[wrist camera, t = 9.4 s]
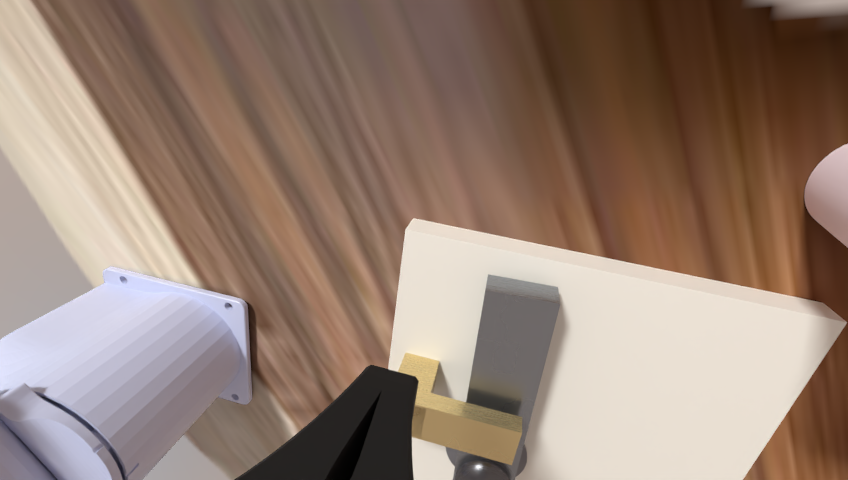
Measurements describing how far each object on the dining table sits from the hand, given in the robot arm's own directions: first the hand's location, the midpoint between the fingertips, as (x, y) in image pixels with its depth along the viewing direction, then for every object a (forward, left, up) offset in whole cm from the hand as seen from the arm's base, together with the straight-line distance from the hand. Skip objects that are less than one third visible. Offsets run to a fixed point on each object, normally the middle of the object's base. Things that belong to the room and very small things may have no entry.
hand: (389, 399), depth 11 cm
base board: (+7, -7, -10) cm, 14 cm away
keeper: (+2, -7, -9) cm, 11 cm away
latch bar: (+4, -6, -8) cm, 11 cm away
